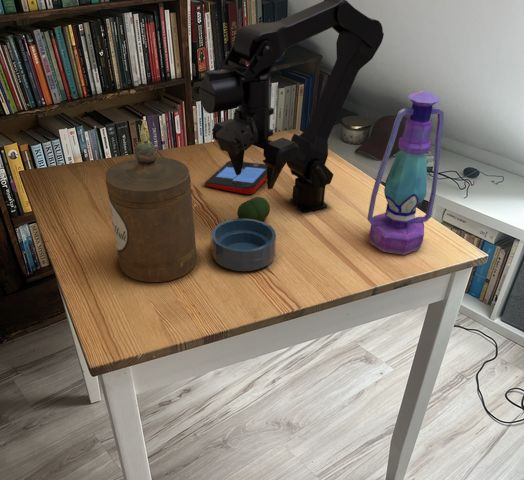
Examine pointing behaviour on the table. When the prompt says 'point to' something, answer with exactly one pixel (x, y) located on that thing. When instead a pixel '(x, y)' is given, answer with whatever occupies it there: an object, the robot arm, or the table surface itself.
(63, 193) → the table surface
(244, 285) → the table surface
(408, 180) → the lantern
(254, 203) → the green rounded cylinder
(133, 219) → the wooden container
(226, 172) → the game console
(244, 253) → the bowl
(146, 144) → the vegetable
